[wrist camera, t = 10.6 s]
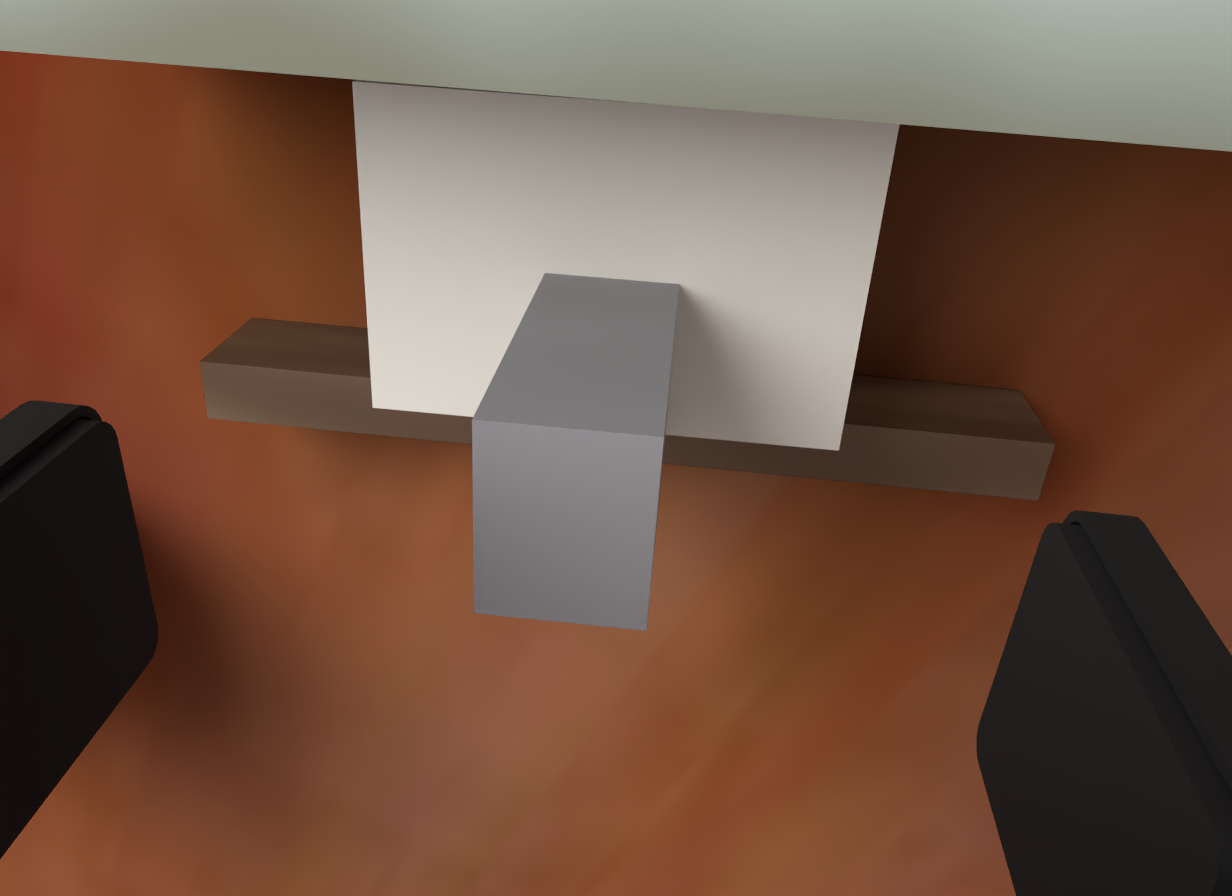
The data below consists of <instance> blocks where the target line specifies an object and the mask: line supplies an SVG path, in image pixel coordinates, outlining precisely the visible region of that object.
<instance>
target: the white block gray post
mask: <svg viewBox="0 0 1232 896" xmlns="http://www.w3.org/2000/svg"><path fill="white" fill-rule="evenodd" d="M352 88H353V104H354V120H355V135H356V151H357V167H358V183H359V199H360V215H361V231H362V247H363V263H364V279H365V295H366V310H367V326H368V342H369V358H370V374H371V390H372V406H373V408H381V409H392V410H403V411H413V412H424V413H435V414H446V415H457V416H468V417H473V419H472V460H473V553H474V613H478V614H488V615H498V616H508V617H518V618H527V619H537V620H547V621H557V622H567V623H576V624H586V625H596V626H606V627H615V628H625V629H635V630H645V631H646V629H647V618H648V608H649V598H650V587H651V577H652V567H653V556H654V546H655V536H656V525H657V515H658V505H659V494H660V484H661V474H662V463H663V453H664V443H665V435H674V436H685V437H696V438H707V439H718V440H728V441H739V442H750V443H761V444H772V445H783V446H794V447H804V448H815V449H826V450H837V451H839V447H840V442H841V436H842V431H843V425H844V420H845V415H846V409H847V404H848V399H849V393H850V388H851V382H852V377H853V372H854V366H855V361H856V356H857V350H858V345H859V339H860V334H861V329H862V323H863V318H864V312H865V307H866V302H867V296H868V291H869V286H870V280H871V275H872V269H873V264H874V259H875V253H876V248H877V243H878V237H879V232H880V226H881V221H882V216H883V210H884V205H885V200H886V194H887V189H888V183H889V178H890V173H891V167H892V162H893V157H894V151H895V146H896V140H897V135H898V130H899V124H890V123H878V122H866V121H854V120H842V119H830V118H817V117H805V116H793V115H781V114H769V113H757V112H744V111H732V110H720V109H708V108H696V107H684V106H671V105H659V104H647V103H635V102H623V101H611V100H598V99H586V98H574V97H562V96H550V95H538V94H525V93H513V92H501V91H489V90H477V89H465V88H452V87H440V86H428V85H416V84H404V83H392V82H379V81H367V80H355V81H352Z"/></svg>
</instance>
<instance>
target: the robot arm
mask: <svg viewBox="0 0 1232 896" xmlns="http://www.w3.org/2000/svg"><path fill="white" fill-rule="evenodd" d="M157 641H158V626H157V621H156V616H155V611H154V607H153V602H152V597H151V593H150V588H149V583H148V579H147V574H146V569H145V565H144V560H143V555H142V551H141V546H140V541H139V536H138V532H137V527H136V522H135V518H134V513H133V508H132V504H131V499H130V494H129V490H128V485H127V480H126V476H125V471H124V466H123V462H122V457H121V452H120V448H119V443H118V438H117V435H116V432H115V430H114V429H113V427H112V426H111V425H110V424H108V423H107V422H102V420H101V417H100V416H99V414H98V413H97V412H96V410H94V409H93V408H91V407H89V406H83V405H73V404H64V403H54V402H45V401H28V402H26V403H24V404H22V405H20V406H19V407H17V408H16V409H15V410H13V411H12V412H10V413H9V414H8V415H6V416H5V417H3V418H2V419H1V420H0V859H1V858H2V856H3V855H4V854H5V852H6V851H7V850H8V848H9V847H10V846H11V844H12V843H13V842H14V840H15V839H16V838H17V836H18V835H19V834H20V833H21V831H22V830H23V829H24V827H25V826H26V825H27V823H28V822H29V821H30V819H31V818H32V817H33V815H34V814H35V813H36V811H37V810H38V809H39V807H40V806H41V805H42V804H43V802H44V801H45V800H46V798H47V797H48V796H49V794H50V793H51V792H52V790H53V789H54V788H55V786H56V785H57V784H58V782H59V781H60V780H61V778H62V777H63V776H64V774H65V773H66V772H67V771H68V769H69V768H70V767H71V765H72V764H73V763H74V761H75V760H76V759H77V757H78V756H79V755H80V753H81V752H82V751H83V749H84V748H85V747H86V745H87V744H88V743H89V742H90V740H91V739H92V738H93V736H94V735H95V734H96V732H97V731H98V730H99V728H100V727H101V726H102V724H103V723H104V722H105V720H106V719H107V718H108V716H109V715H110V714H111V713H112V711H113V710H114V709H115V707H116V706H117V705H118V703H119V702H120V701H121V699H122V698H123V697H124V695H125V694H126V693H127V691H128V690H129V689H130V687H131V686H132V685H133V684H134V682H135V681H136V680H137V678H138V677H139V676H140V674H141V673H142V672H143V670H144V669H145V668H146V666H147V665H148V664H149V662H150V660H151V659H152V657H153V654H154V652H155V649H156V645H157ZM977 758H978V763H979V767H980V770H981V774H982V777H983V781H984V784H985V788H986V791H987V795H988V798H989V802H990V805H991V809H992V812H993V816H994V819H995V823H996V826H997V830H998V833H999V837H1000V840H1001V844H1002V847H1003V851H1004V854H1005V858H1006V861H1007V865H1008V868H1009V872H1010V875H1011V879H1012V882H1013V886H1014V889H1015V893H1016V896H1232V656H1231V654H1230V653H1229V651H1228V650H1227V648H1226V647H1225V645H1224V644H1223V642H1222V641H1221V639H1220V638H1219V636H1218V635H1217V633H1216V632H1215V630H1214V629H1213V627H1212V626H1211V624H1210V622H1209V621H1208V619H1207V618H1206V616H1205V615H1204V613H1203V612H1202V610H1201V609H1200V607H1199V606H1198V604H1197V603H1196V601H1195V600H1194V598H1193V597H1192V595H1191V594H1190V592H1189V591H1188V589H1187V588H1186V586H1185V584H1184V583H1183V581H1182V580H1181V578H1180V577H1179V575H1178V574H1177V572H1176V571H1175V569H1174V568H1173V566H1172V565H1171V563H1170V562H1169V560H1168V559H1167V557H1166V556H1165V554H1164V553H1163V551H1162V550H1161V548H1160V547H1159V545H1158V543H1157V542H1156V540H1155V539H1154V537H1153V536H1152V534H1151V533H1150V531H1149V530H1148V528H1147V527H1146V525H1145V524H1144V523H1143V522H1142V521H1141V520H1140V519H1139V518H1138V517H1134V516H1126V515H1117V514H1107V513H1098V512H1088V511H1079V510H1075V511H1073V512H1071V513H1070V514H1069V515H1068V516H1067V517H1066V519H1065V520H1064V522H1063V524H1061V523H1051V524H1049V525H1048V526H1047V527H1046V528H1045V530H1044V532H1043V534H1042V537H1041V540H1040V543H1039V546H1038V549H1037V552H1036V555H1035V558H1034V561H1033V564H1032V567H1031V570H1030V573H1029V576H1028V579H1027V582H1026V585H1025V588H1024V591H1023V594H1022V597H1021V600H1020V603H1019V606H1018V609H1017V612H1016V615H1015V618H1014V621H1013V624H1012V627H1011V630H1010V633H1009V636H1008V639H1007V642H1006V645H1005V648H1004V651H1003V654H1002V657H1001V660H1000V663H999V666H998V669H997V672H996V675H995V678H994V681H993V684H992V687H991V690H990V693H989V696H988V699H987V702H986V705H985V708H984V711H983V714H982V717H981V720H980V723H979V727H978V732H977Z"/></svg>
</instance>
